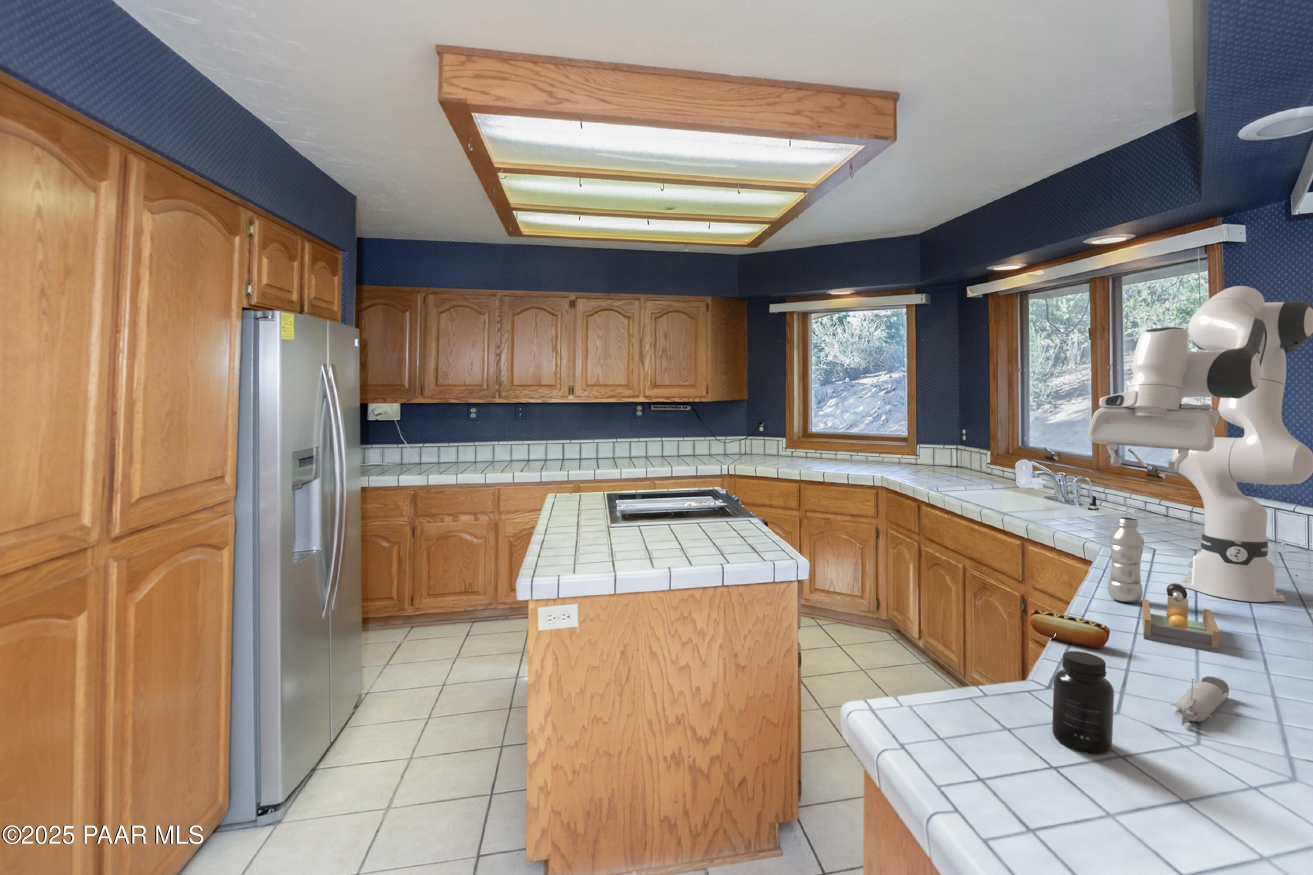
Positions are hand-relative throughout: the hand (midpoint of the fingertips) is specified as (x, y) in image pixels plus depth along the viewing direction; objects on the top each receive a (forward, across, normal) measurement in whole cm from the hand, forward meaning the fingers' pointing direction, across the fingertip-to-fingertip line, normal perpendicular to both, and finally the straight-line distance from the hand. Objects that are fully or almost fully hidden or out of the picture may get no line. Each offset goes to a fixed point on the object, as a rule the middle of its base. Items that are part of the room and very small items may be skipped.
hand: (1143, 468), depth 124 cm
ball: (+30, -8, -8) cm, 32 cm away
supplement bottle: (+45, -8, +51) cm, 69 cm away
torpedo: (+40, -16, +27) cm, 51 cm away
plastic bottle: (+30, +5, -26) cm, 40 cm away
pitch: (+32, -8, -10) cm, 35 cm away
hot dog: (+38, +5, +12) cm, 40 cm away
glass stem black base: (+30, -7, -14) cm, 34 cm away
